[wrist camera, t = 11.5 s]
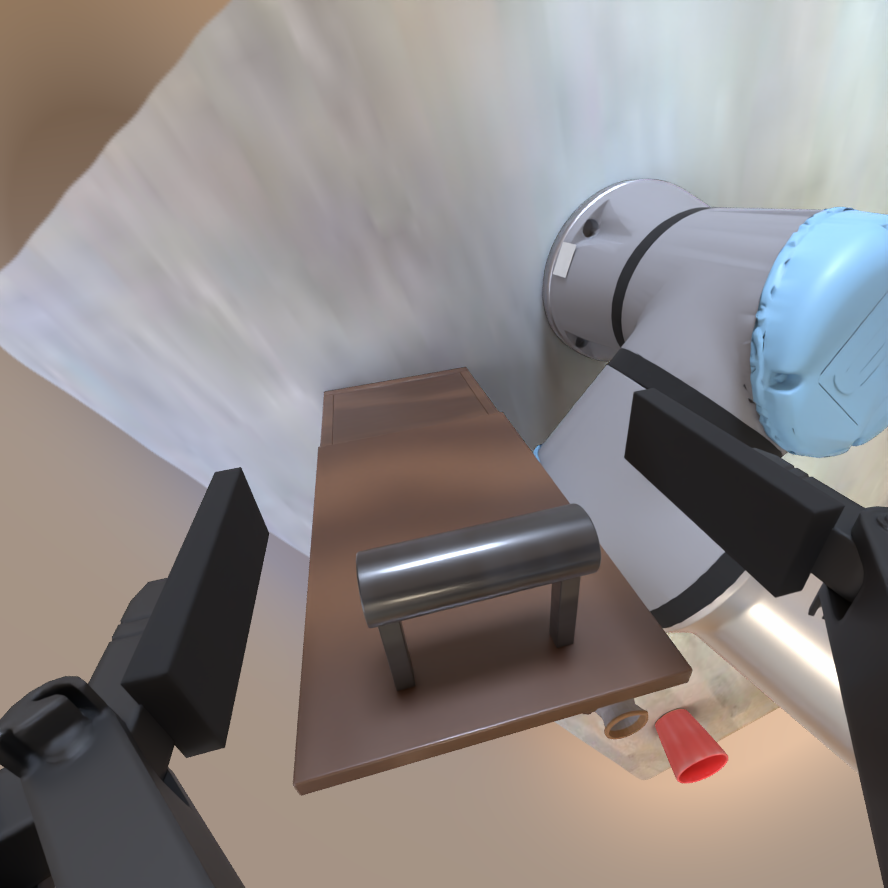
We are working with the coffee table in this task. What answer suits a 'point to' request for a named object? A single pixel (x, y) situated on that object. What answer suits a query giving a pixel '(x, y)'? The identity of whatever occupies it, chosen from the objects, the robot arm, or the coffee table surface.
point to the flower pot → (689, 747)
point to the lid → (456, 604)
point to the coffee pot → (622, 718)
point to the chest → (402, 405)
